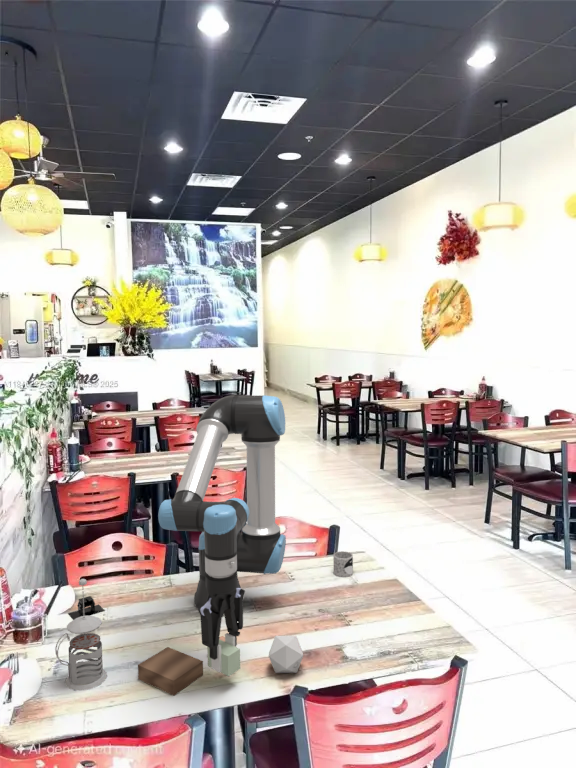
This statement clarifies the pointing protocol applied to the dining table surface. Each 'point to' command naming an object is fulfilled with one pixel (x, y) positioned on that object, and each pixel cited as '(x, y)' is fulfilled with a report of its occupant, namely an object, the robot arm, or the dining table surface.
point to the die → (285, 654)
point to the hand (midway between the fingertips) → (223, 664)
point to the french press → (87, 671)
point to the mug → (343, 564)
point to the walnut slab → (170, 670)
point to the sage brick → (227, 658)
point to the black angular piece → (87, 611)
